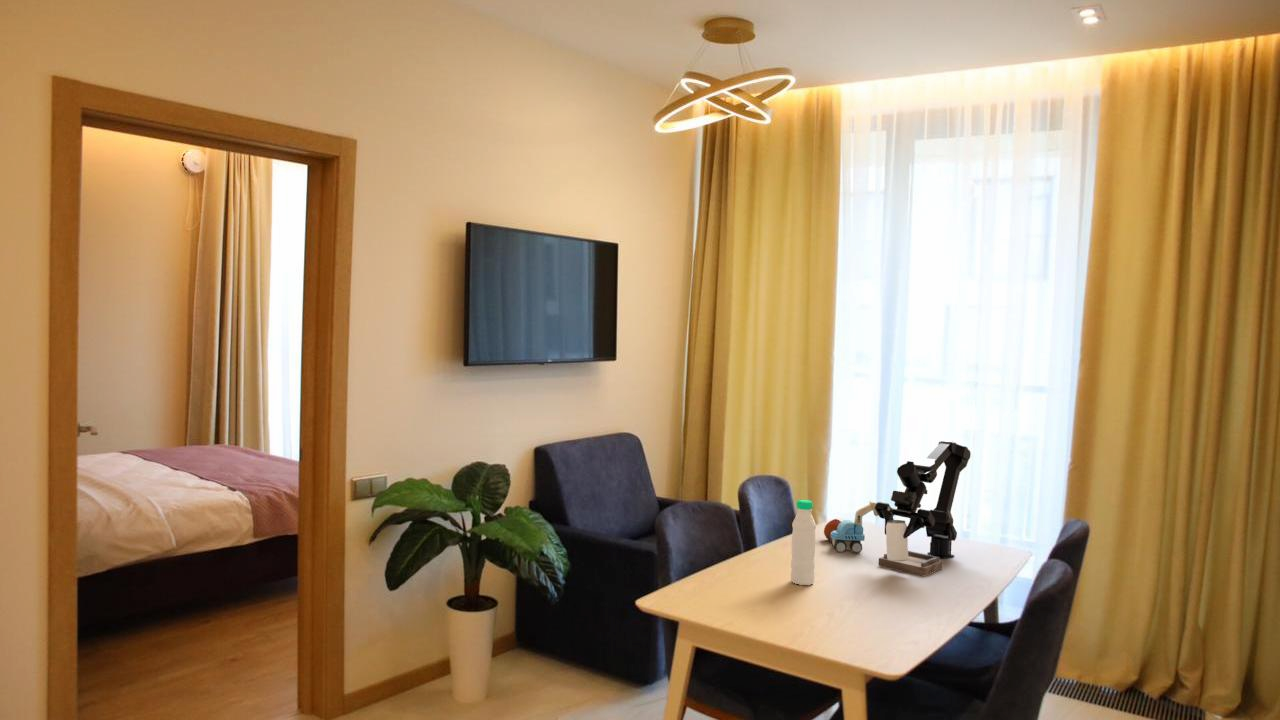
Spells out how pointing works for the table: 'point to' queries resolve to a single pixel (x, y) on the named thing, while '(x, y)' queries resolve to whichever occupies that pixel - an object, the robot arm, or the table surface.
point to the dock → (913, 563)
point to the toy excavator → (851, 531)
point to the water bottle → (803, 545)
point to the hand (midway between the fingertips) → (894, 535)
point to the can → (896, 540)
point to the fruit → (831, 528)
